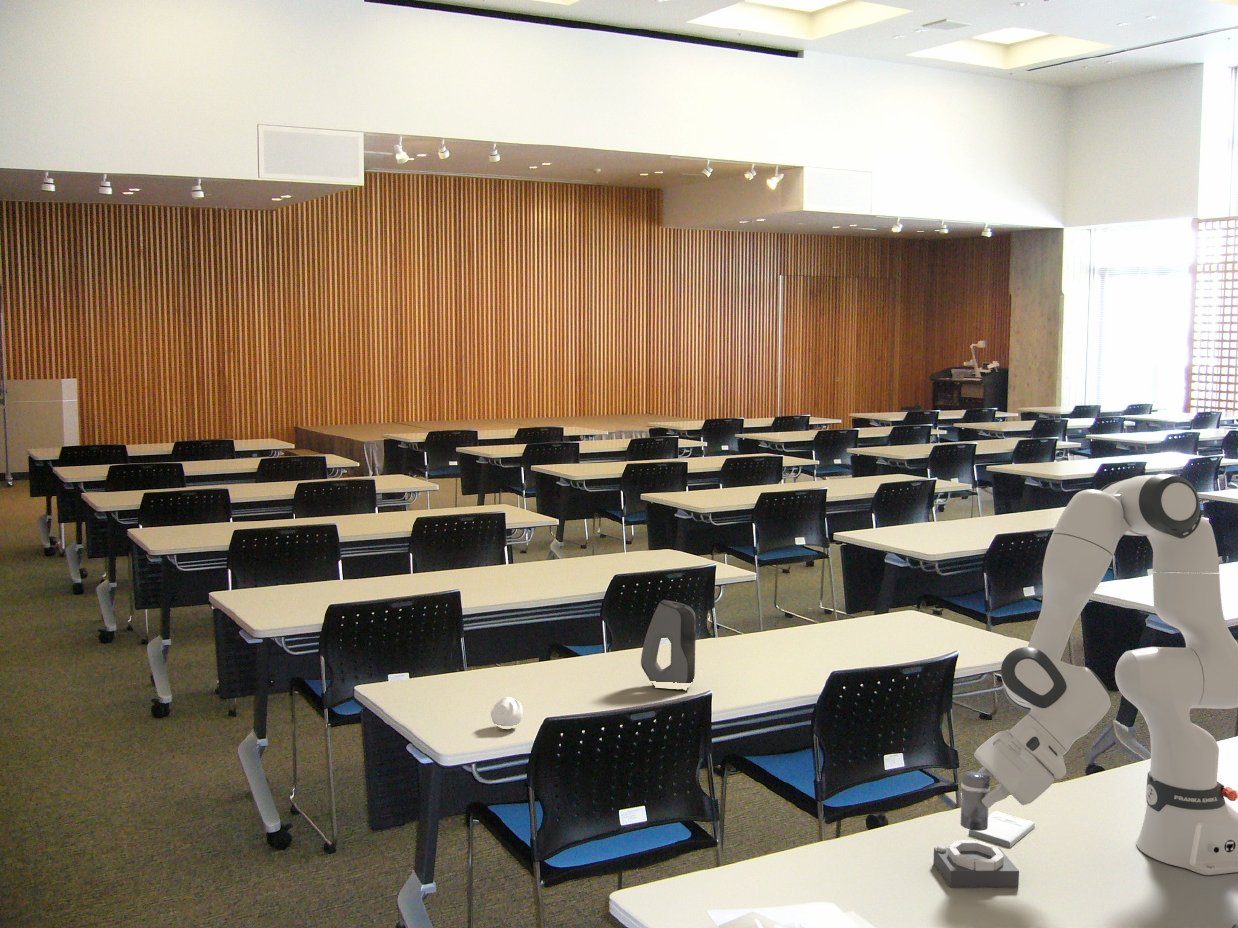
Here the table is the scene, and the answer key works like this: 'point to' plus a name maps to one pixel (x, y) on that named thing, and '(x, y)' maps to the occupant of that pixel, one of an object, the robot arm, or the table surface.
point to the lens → (974, 800)
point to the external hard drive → (1004, 829)
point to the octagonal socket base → (975, 865)
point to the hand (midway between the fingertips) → (977, 797)
